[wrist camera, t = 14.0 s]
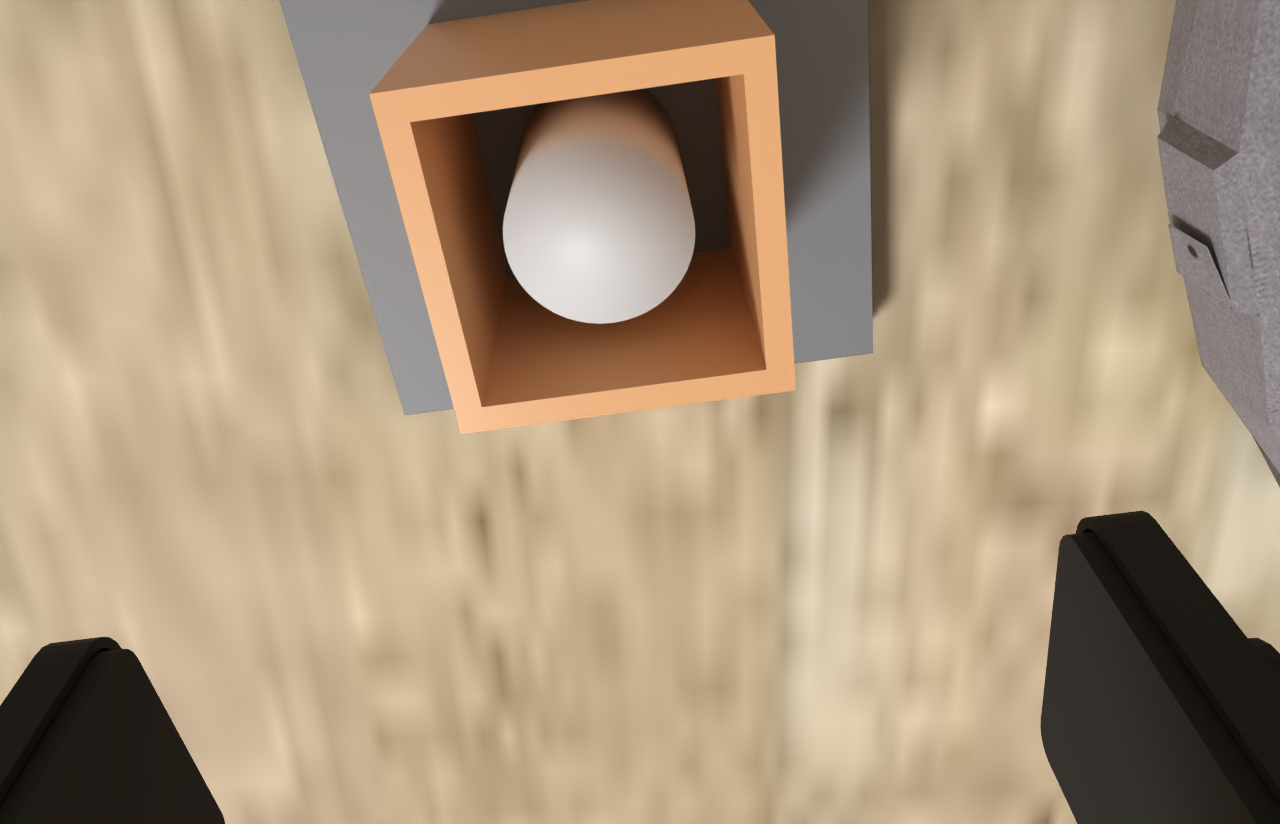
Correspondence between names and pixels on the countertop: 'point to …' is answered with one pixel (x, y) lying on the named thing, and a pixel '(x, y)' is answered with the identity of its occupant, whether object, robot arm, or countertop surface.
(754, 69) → the orange cube cubby
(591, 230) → the gray plate with knob
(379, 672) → the countertop surface
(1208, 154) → the soft grey pack
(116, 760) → the robot arm
